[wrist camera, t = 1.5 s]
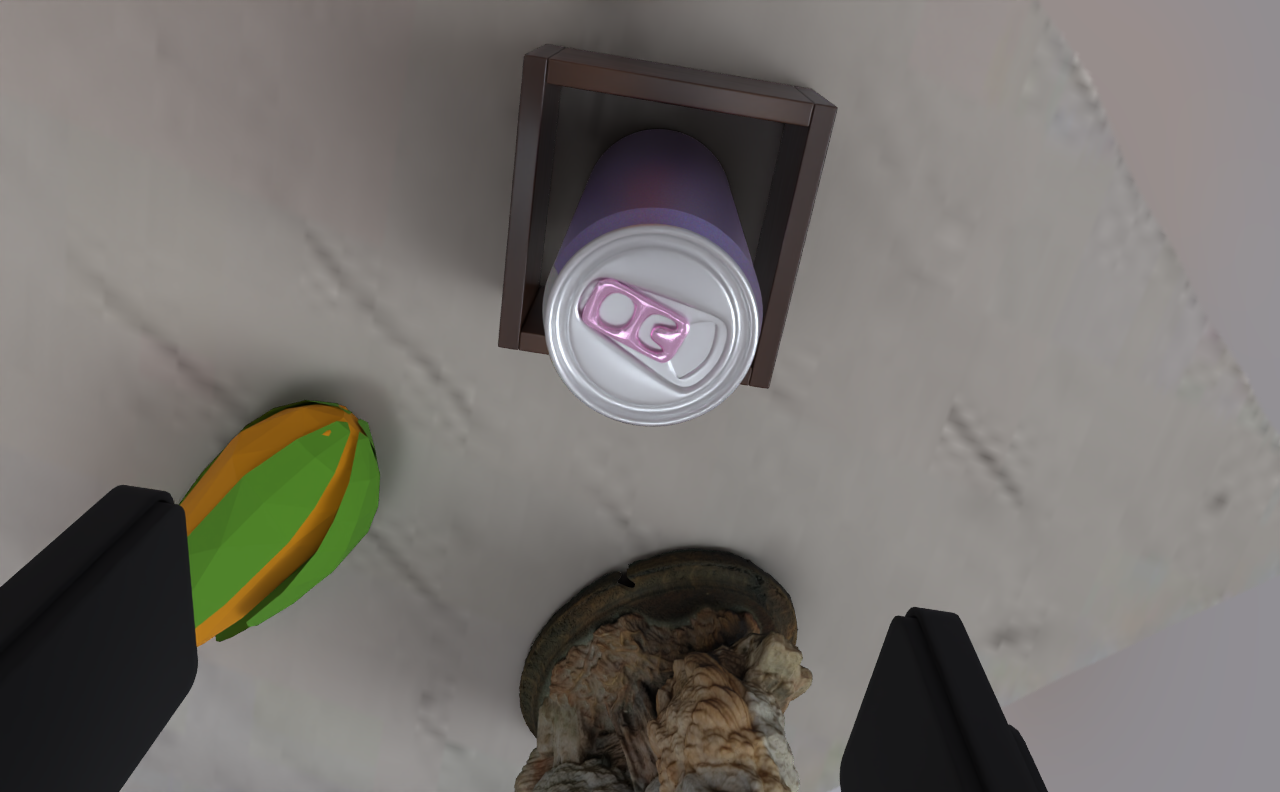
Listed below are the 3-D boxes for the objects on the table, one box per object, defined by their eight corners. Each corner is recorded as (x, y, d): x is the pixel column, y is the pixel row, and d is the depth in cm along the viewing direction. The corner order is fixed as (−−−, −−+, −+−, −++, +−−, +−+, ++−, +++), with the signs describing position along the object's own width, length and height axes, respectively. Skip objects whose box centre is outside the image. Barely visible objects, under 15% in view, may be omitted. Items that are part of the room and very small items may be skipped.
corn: (393, 531, 34) (135, 777, 40) (448, 446, 41) (220, 667, 47) (241, 406, 32) (-2, 683, 39) (325, 340, 39) (107, 584, 46)
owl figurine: (695, 483, 42) (712, 776, 26) (858, 615, 45) (958, 945, 29) (470, 684, 48) (378, 1018, 32) (628, 788, 51) (612, 1136, 36)
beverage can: (629, 97, 34) (603, 173, 20) (757, 173, 35) (812, 291, 22) (561, 227, 36) (498, 371, 23) (683, 293, 37) (691, 468, 24)
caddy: (519, 299, 38) (497, 347, 33) (545, 43, 33) (523, 54, 28) (755, 336, 38) (769, 389, 33) (813, 88, 34) (838, 107, 29)
